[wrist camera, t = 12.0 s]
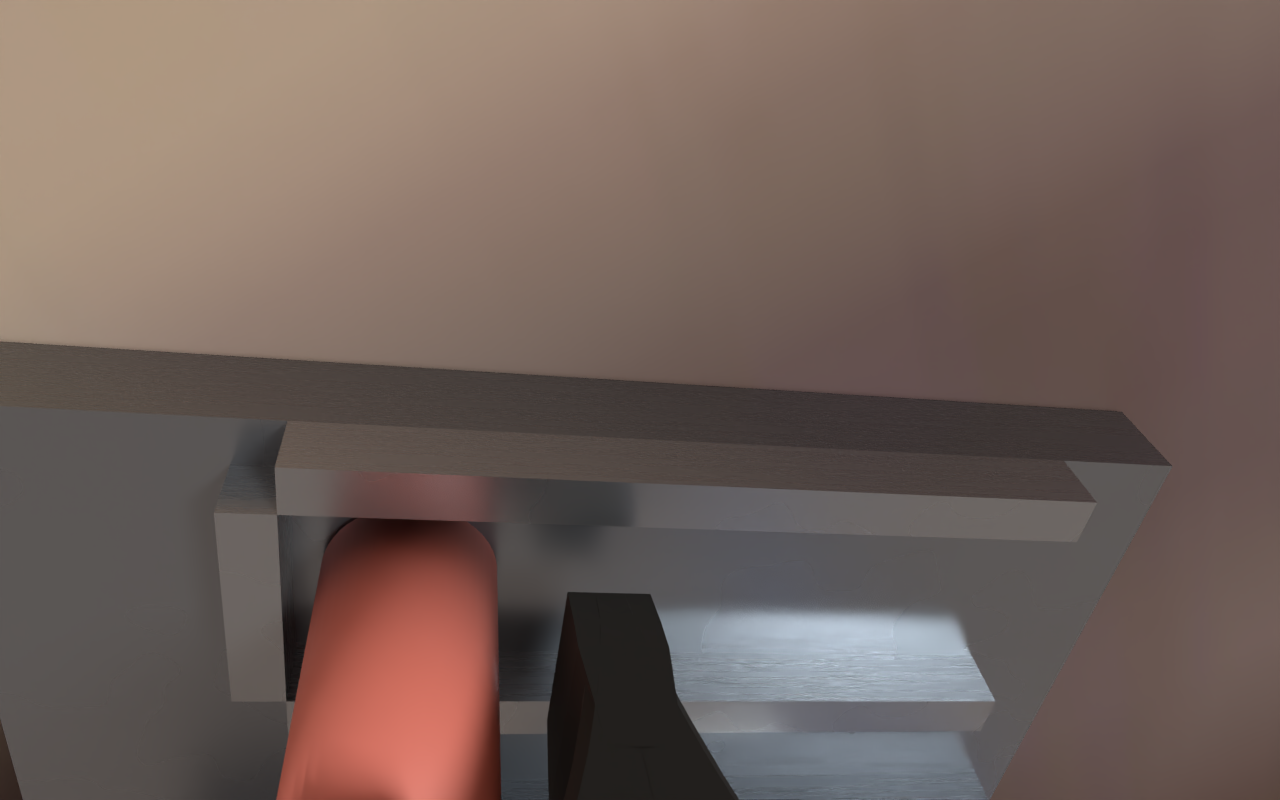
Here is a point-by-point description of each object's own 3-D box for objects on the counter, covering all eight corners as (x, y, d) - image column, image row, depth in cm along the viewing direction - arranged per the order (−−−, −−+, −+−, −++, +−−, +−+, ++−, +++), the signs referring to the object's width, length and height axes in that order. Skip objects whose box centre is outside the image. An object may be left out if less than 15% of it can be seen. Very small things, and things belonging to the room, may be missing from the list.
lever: (507, 467, 11) (525, 936, 7) (487, 667, 13) (489, 1143, 8) (319, 458, 11) (209, 950, 6) (322, 666, 12) (239, 1165, 8)
